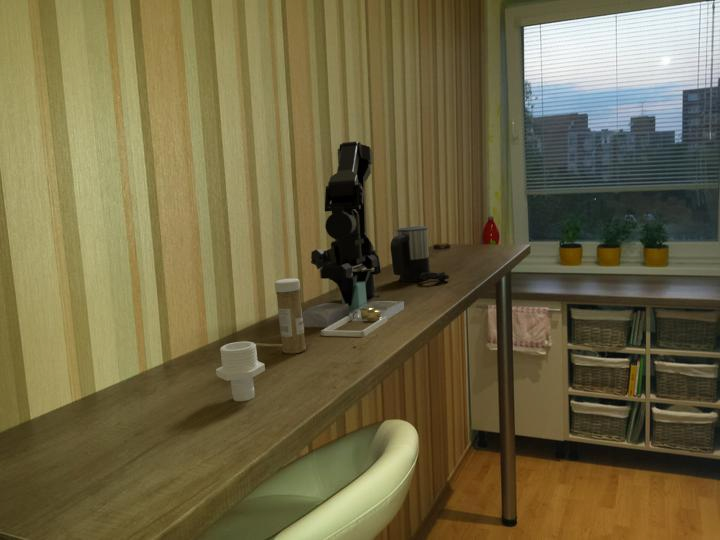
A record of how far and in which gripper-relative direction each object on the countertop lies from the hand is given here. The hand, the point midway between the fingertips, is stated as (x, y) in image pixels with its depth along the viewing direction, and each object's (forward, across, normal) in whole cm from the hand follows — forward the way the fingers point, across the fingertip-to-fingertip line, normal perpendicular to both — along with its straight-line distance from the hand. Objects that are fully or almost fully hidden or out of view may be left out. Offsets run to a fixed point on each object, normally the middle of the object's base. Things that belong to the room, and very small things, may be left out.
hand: (353, 303), depth 149 cm
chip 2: (+2, +7, +8) cm, 11 cm away
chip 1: (+2, +5, +6) cm, 8 cm away
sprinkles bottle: (+3, +30, +2) cm, 30 cm away
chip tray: (+3, +14, +7) cm, 16 cm away
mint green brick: (+2, 0, 0) cm, 2 cm away
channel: (+2, +2, +7) cm, 8 cm away
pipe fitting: (+4, +54, +6) cm, 54 cm away
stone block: (+3, +9, -4) cm, 10 cm away
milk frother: (+2, -40, +4) cm, 40 cm away
